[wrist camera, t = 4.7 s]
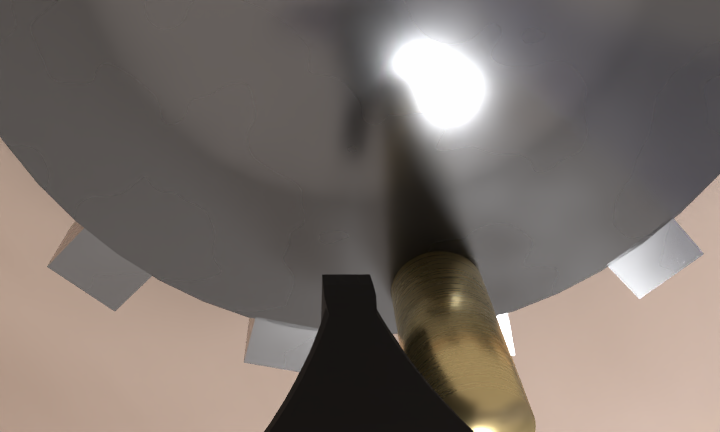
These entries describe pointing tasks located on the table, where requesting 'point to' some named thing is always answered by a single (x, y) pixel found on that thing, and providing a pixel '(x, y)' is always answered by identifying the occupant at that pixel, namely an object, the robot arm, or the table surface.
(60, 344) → the table surface
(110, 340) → the table surface
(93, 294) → the sprocket
